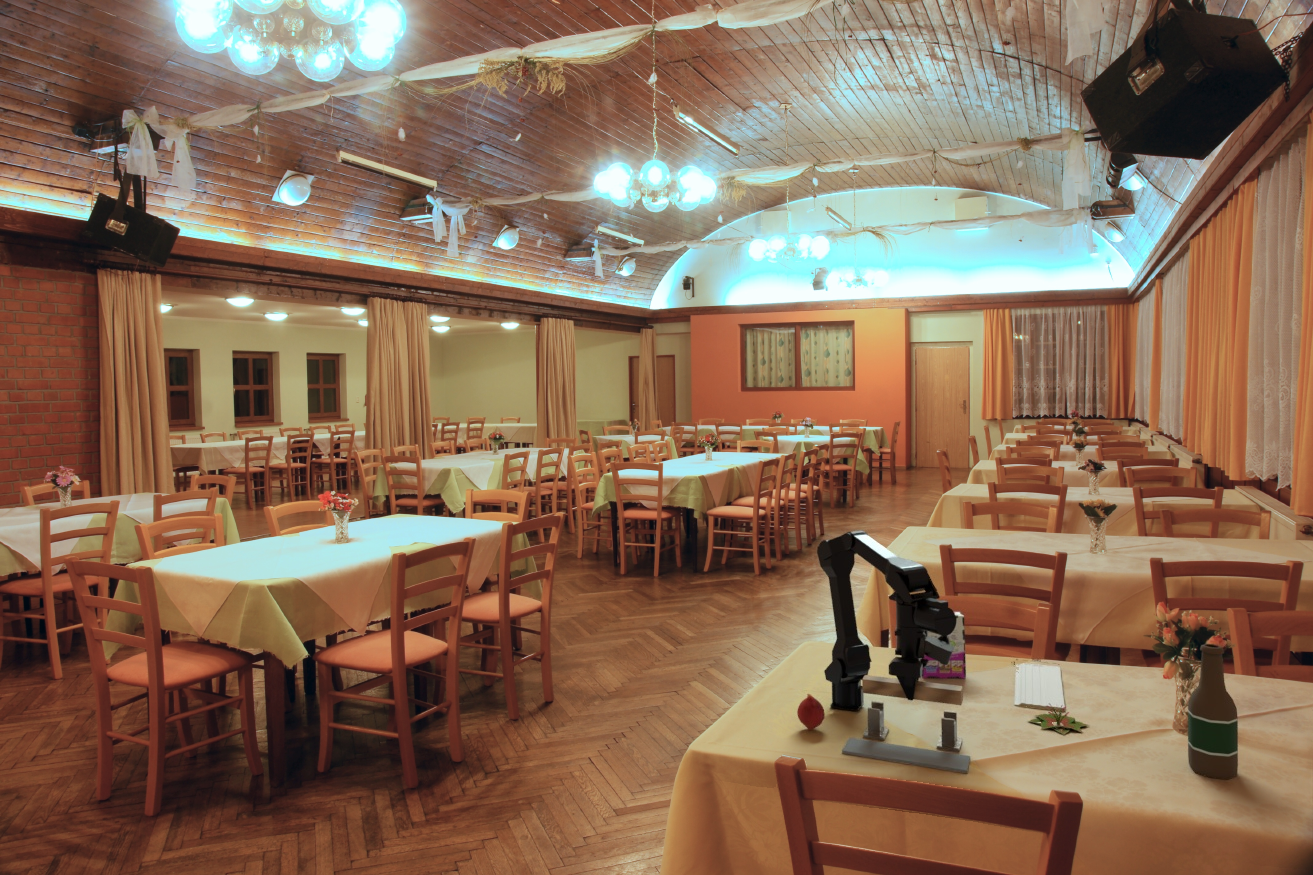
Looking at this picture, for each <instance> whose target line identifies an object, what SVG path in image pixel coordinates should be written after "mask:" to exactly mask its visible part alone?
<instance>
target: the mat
mask: <svg viewBox="0 0 1313 875" xmlns="http://www.w3.org/2000/svg"><path fill="white" fill-rule="evenodd" d="M841 753H842V754H844V755H851V756H857V757H863V758H868V759H876V760H882V761H888V762H893V763H900V764H906V765H913V766H918V767H925V768H932V769H938V770H944V771H949V772H955V773H962V774H968V772H969V766H970V761H971V755H969V754H968V755H967V754H961V753H954V752H947V751H941V750H934V749H927V748H919V747H916V746H915V747H914V746H910V745H909V746H907V745H902V744H895V743H888V742H882V741H876V740H875V741H874V740H869V739H864V738H863V739H861V738H855V737H849V738H848V739H847V741H846V743H845V745H844V746H843V748H842V749H841Z"/></svg>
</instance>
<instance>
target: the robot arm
mask: <svg viewBox="0 0 1313 875" xmlns="http://www.w3.org/2000/svg"><path fill="white" fill-rule="evenodd" d="M816 554H817V557H818V562H819V565H820V568H821V569H822V571H823V572H824V573H825V575H826V576H827V577H828V582H829V583H828V584H829V590H830V598H831V604H832V605H831V607H832V612H833V618H834V619H833V620H834V627H835V633H836V634H835V636H836V639H835V642H834V645H833V647H832V650H831V662H830V663H829V665H828V666H827V667H826V668H825V670H824V671H823V672H824V677H825V680H826V681H828V682H830V683H831V703H830V705H829V706H830V707H829V708H831V709H838V710H845V711H851V712H852V711H853V712H858V711H859V710H860V708H861V707H862V706H863V704H864V699H865V698H864V693H863V688H862V683H861V682H862V679H863V677H864V676H865V675H869V670H871V663H872V658H871V654H870V646H869V645H868V643H866V644H864V643H863V641H862V640H861V639H860V636H859V633H858V631H859V630H858V625H857V624H858V623H857V618H856V617H857V616H856V611H855V602H854V596H853V588H852V582H851V573H852V571H853V568H854V566H855V561H856V560H855V559H856V558H855V557H856V556H855V555H858V556H859V557H861V558H862V559H863V560H864V561H865V562H867V563H869V564H870V565H871V566H872V567H874V568H875V569H877V570H878V571H879V572H881V573H882V574H883V575H884V580H885V582H886V583H887V584H888V586H889V587H890V588H891V589H892V590H893V591H894V592H893V593H892V594H890V595H889V596H888V599H889V600H891V601H893V602H895V623H896V626H895V629H894V636H896V647H895V649H894V658H892V659H891V661H889V663H888V675H890V676H895V677H896V679H898V680H899V682H900V684H901V686H902V689H903V691H904V693H905V695H906V697H907V699H906V700H908V701H914V693H915V687H916V681H920V679H921V678H922V676H921V675H922V674H923V672H924V670H923V668H924V667H925V666H926V665H927V663H928V661H929V660H927V659H925V655H926V656H928V657H930V658H932V659H934V660H937V661H939V662H940V663H941V664H944V665H948V663H949V660H950V657H951V655H952V652H953V650H954V646H953V644H950V639H949V636H948V635H950V634H951V633H952V632H953V631H954V629H955V627H956V622H957V618H956V616H955V613H954V612H955V611H954V610H953V609H951V608H950V607H949V601H948V600H939V599H940V597H941V596H940V595H939V592H938V589H937V588H936V586H935V584H934V583H933V580H932V578H931V576H930V574H929V573H928V569H927V568H926V567H925V566H924V565H923V564H921V563H919V562H916V561H913V560H911V559H906V558H903V557H900V556H898V555H896V554H895V553H894V552H892V551H890V550H889V549H888V548H886V547H885V546H883V545H882V544H881V543H879V542H878V541H876V540H875V539H873V538H872V537H871V536H869V534H868V532H866V531H864V530H862V529H861V530H854V531H846V533H843V534H842V535H840V536H837V537H834V538H831V539H830V538H829V539H822V540H821V541H820V542H819V545H817V549H816ZM928 631H929V632H932V633H935V634H938V635H940V636H939V637H938V638H936V637H935V636H934V637H931V636H928ZM922 658H924V659H922Z"/></svg>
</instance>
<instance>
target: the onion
mask: <svg viewBox="0 0 1313 875" xmlns="http://www.w3.org/2000/svg"><path fill="white" fill-rule="evenodd" d="M796 713H797V717H798V720H799V721H800V723H801V724H802V725H803V726H805V727H806V729H808V730H810V731H812V730H814V729H816V728H818V727H820V725H822V724H823V721H824V719H825V709H824V707H823V704H821V702H820V701H819V700H818V699H816V698H815V697H814V696H813V695H812V694H811V693H807V696H806V698H804V699H803V700H802V701H800V703H799V705H798V707H797V712H796Z"/></svg>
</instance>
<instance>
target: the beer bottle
mask: <svg viewBox="0 0 1313 875" xmlns="http://www.w3.org/2000/svg"><path fill="white" fill-rule="evenodd" d="M1199 650H1200V651H1201V659H1200V671H1199V673H1200V675H1199V676H1200V677H1199V681H1198V685H1197V687H1196V688H1195V689H1193V691H1192V692H1191V694H1190V696H1189V698H1188V702H1187V704H1188V705H1187V757H1188V765H1189V767H1190V768H1191V769H1192V770H1193V772H1194V773H1196V774H1198V775H1201V776H1204V777H1207V778H1208V779H1209V778H1210V779H1218V780H1225V781H1226V780H1230V779H1232V778H1235V777H1237V776H1238V770H1239V746H1238V745H1239V744H1238V743H1239V740H1238V739H1239V734H1238V732H1239V727H1238V726H1239V725H1238V723H1239V721H1238V718H1239V717H1238V709H1237V707H1236V704H1235V701H1234V699H1233V697H1232V696H1231V695H1230V694H1229V692H1228V691H1227V687H1226V683H1225V673H1224V660H1223V654H1225V650H1224V648H1223V647H1222V646H1221V645H1218V644H1214V643H1205V644H1201V645H1200V647H1199Z"/></svg>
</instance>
